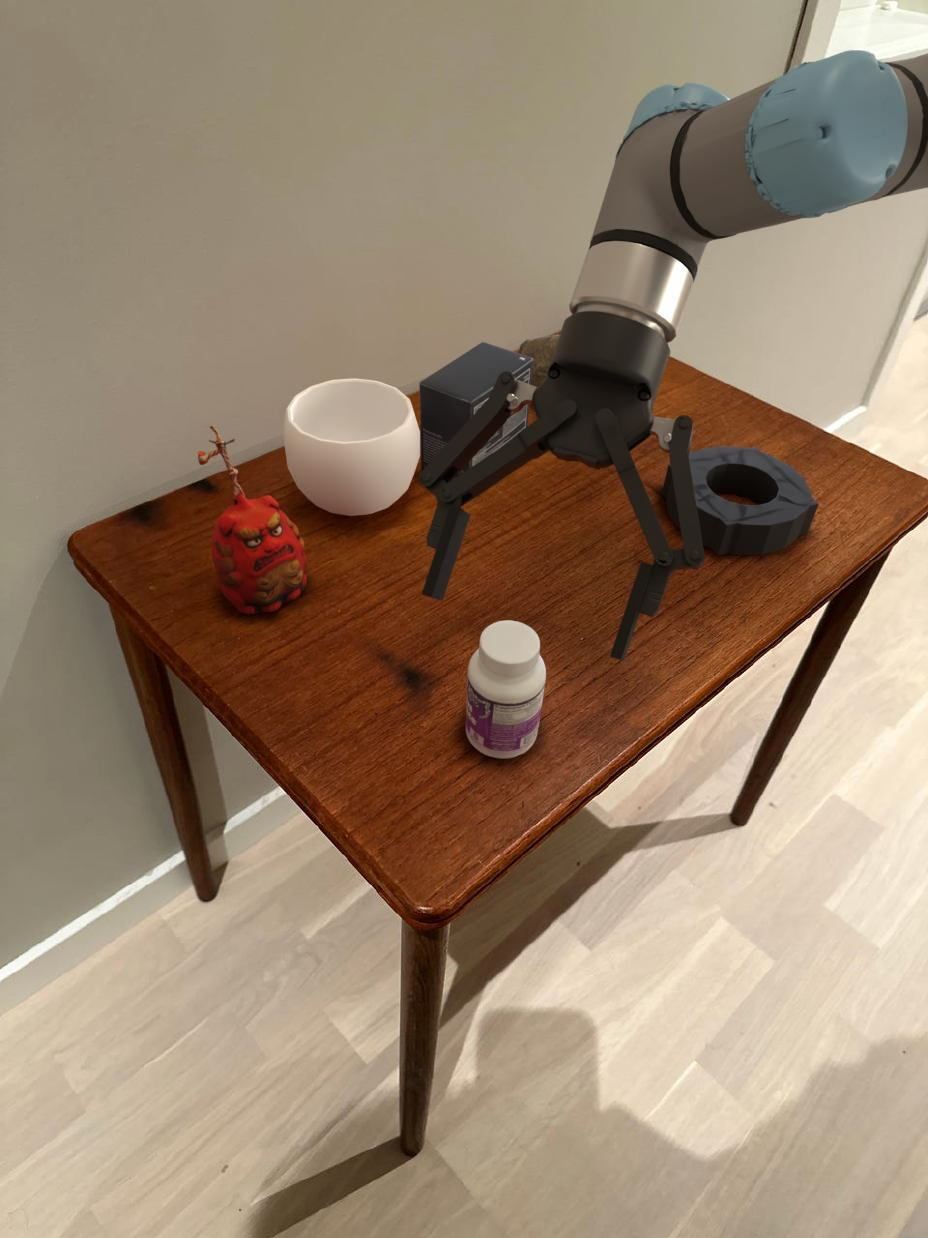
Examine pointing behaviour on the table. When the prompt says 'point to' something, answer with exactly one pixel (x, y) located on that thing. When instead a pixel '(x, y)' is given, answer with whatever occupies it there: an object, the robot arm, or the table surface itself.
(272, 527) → the red clay folk toy
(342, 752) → the table surface
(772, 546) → the dark grey faceted ring
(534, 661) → the pill bottle
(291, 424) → the cup
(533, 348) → the stone
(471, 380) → the small box
